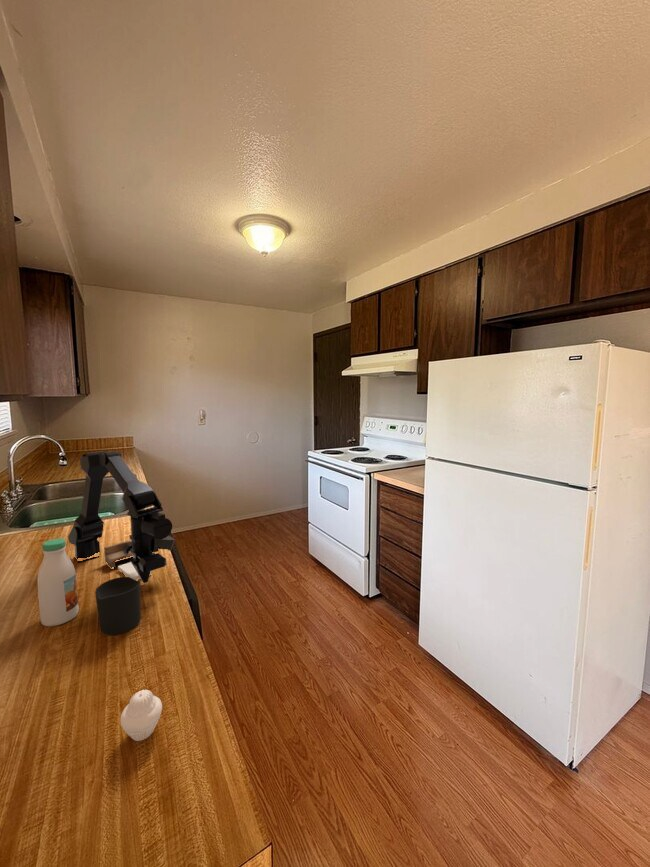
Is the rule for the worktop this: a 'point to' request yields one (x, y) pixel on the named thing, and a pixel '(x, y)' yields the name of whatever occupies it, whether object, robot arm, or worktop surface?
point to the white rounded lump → (141, 715)
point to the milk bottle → (57, 585)
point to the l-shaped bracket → (115, 553)
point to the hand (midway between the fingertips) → (145, 582)
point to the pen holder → (118, 605)
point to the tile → (129, 570)
